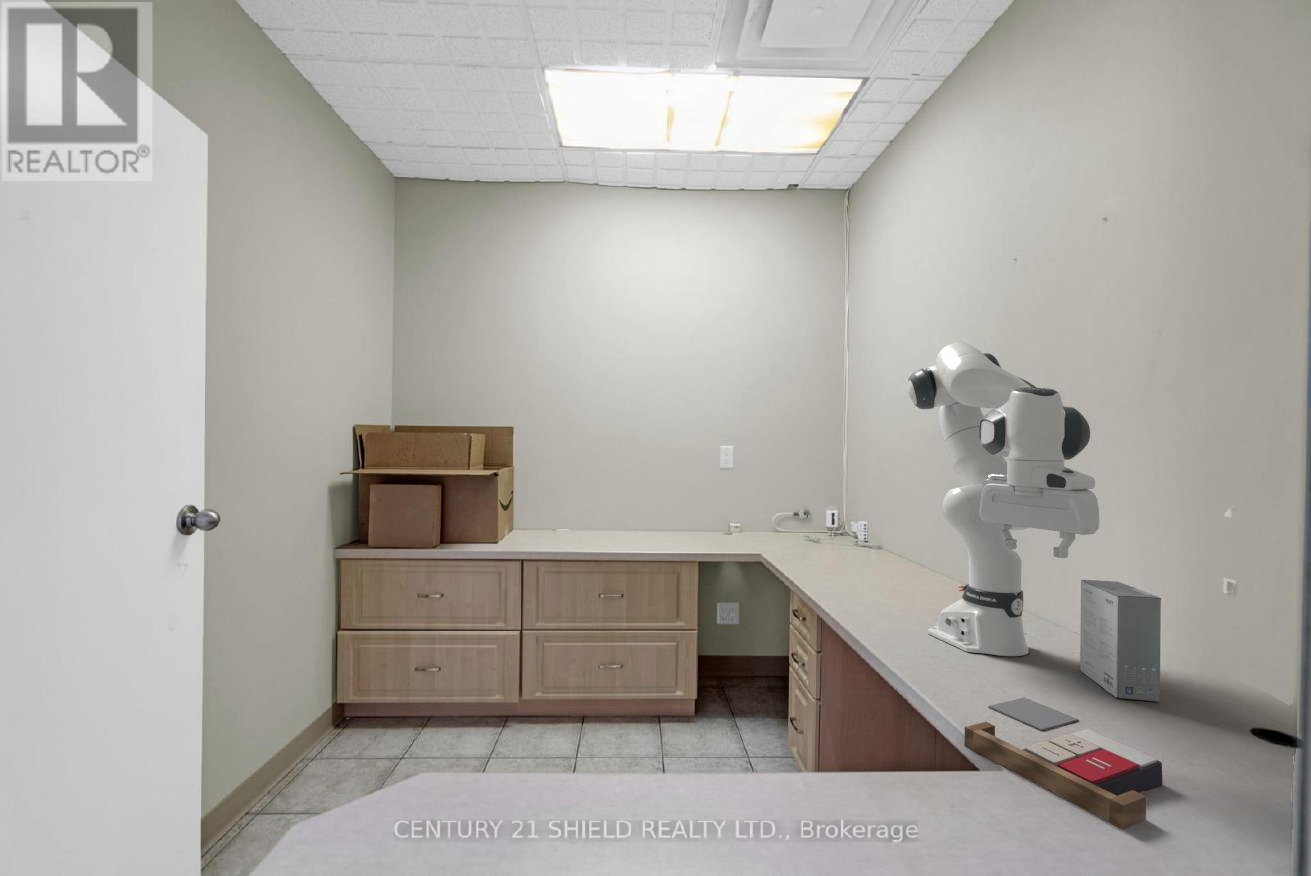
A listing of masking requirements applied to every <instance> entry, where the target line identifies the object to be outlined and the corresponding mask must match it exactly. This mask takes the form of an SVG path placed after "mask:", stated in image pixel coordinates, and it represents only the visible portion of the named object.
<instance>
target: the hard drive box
mask: <svg viewBox="0 0 1311 876" xmlns="http://www.w3.org/2000/svg"><path fill="white" fill-rule="evenodd" d="M1080 590H1081V591H1080V652H1079V654H1080V657H1079V658H1080V661H1079V662H1080V665H1079V666H1080V669H1079V670H1080V672H1082V673H1083V674H1085V675H1086V676H1087V677H1088V678H1089V679H1091V680H1092V681H1093V682H1095V683H1096V684H1097V685H1099V686H1100V687H1102V689H1104V691H1106V692H1108V693H1109V694H1111V695H1112V696H1113V697H1114V698H1118V699H1124V700H1125V699H1126V700H1127V699H1128V700H1135V701H1136V700H1138V701H1147V702H1160V701H1161V620H1162V619H1161V613H1162V612H1161V611H1162V607H1161V606H1162V598H1161V597H1160V596H1157V595H1154V594H1152V593H1149V592H1146V591H1144V590H1142V589H1139V588H1136V587H1134V586H1130V585H1129V584H1125V583H1123V582H1121V581H1113V580H1112V581H1111V580H1099V579H1098V580H1097V579H1096V580H1095V579H1081V580H1080Z"/></svg>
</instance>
